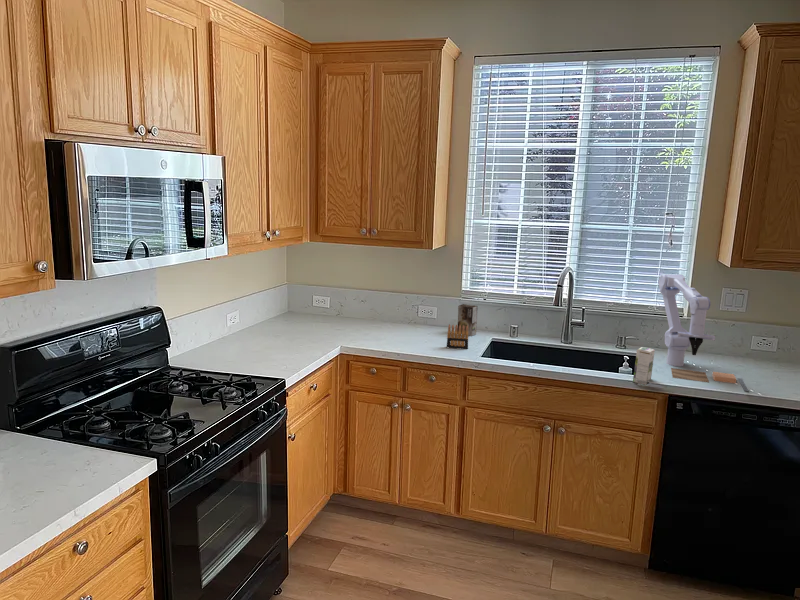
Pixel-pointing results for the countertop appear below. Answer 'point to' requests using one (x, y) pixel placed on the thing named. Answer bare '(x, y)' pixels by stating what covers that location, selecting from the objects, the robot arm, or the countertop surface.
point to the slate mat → (743, 385)
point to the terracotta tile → (724, 377)
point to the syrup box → (643, 365)
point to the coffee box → (467, 318)
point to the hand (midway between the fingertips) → (693, 354)
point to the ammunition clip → (457, 337)
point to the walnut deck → (689, 375)
